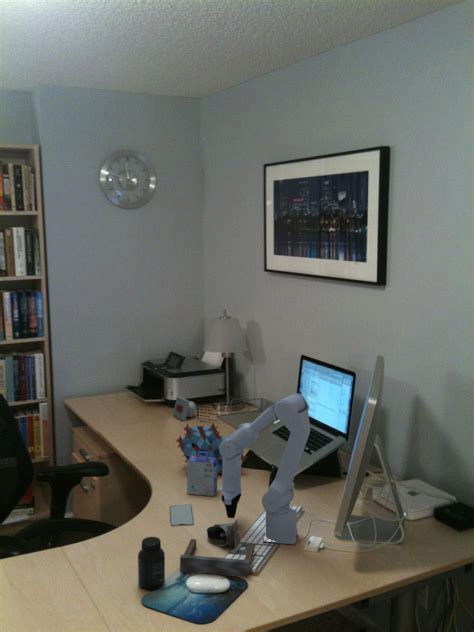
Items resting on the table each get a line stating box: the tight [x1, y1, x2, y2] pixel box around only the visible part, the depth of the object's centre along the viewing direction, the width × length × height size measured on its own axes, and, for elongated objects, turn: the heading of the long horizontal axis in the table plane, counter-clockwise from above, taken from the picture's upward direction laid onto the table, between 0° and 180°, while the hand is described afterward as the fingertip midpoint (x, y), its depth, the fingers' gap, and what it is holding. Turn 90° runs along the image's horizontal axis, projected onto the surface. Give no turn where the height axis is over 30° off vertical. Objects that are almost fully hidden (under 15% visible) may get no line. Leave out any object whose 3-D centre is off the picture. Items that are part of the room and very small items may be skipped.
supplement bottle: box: [137, 536, 166, 592], centre depth 167 cm, size 7×7×12 cm
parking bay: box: [179, 538, 255, 578], centre depth 179 cm, size 18×14×4 cm
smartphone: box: [169, 504, 195, 527], centre depth 208 cm, size 7×1×15 cm
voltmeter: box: [172, 396, 221, 423], centre depth 312 cm, size 27×11×10 cm, turn 68°
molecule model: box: [175, 421, 248, 475], centre depth 246 cm, size 16×14×25 cm
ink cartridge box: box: [186, 451, 218, 497], centre depth 225 cm, size 10×6×14 cm, turn 78°
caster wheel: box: [206, 519, 240, 549], centre depth 191 cm, size 7×11×10 cm
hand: (231, 517), depth 201 cm, fingers closed
